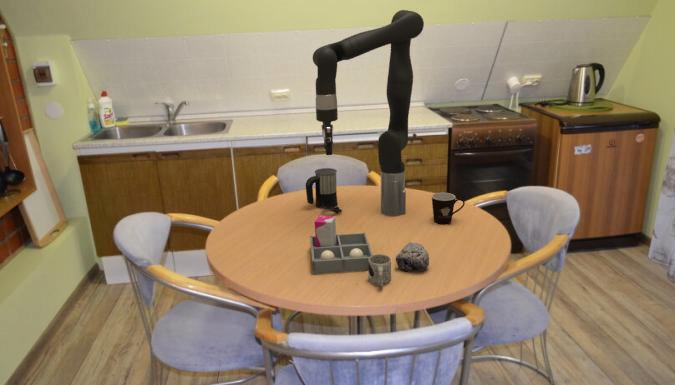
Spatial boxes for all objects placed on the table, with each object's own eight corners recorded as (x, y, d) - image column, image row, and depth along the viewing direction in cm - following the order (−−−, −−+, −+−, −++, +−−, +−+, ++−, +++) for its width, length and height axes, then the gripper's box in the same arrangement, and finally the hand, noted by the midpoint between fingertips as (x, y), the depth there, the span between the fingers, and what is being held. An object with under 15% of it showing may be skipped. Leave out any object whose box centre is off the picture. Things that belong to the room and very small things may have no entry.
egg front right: (334, 259, 165) (333, 247, 163) (335, 266, 161) (334, 253, 159) (320, 260, 164) (319, 248, 163) (321, 267, 160) (320, 254, 159)
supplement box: (337, 247, 173) (335, 215, 170) (332, 255, 168) (331, 222, 164) (320, 246, 175) (318, 214, 171) (315, 253, 169) (314, 221, 165)
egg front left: (362, 258, 165) (362, 245, 164) (364, 264, 161) (364, 251, 160) (348, 258, 165) (348, 246, 164) (350, 265, 161) (349, 252, 159)
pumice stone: (406, 283, 156) (436, 269, 157) (400, 262, 152) (430, 249, 154) (393, 267, 165) (421, 254, 167) (387, 247, 162) (415, 234, 163)
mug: (368, 274, 157) (368, 254, 155) (390, 273, 157) (390, 254, 154) (369, 291, 148) (368, 270, 145) (392, 290, 147) (392, 270, 145)
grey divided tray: (365, 244, 177) (365, 232, 175) (374, 270, 159) (373, 257, 158) (310, 247, 175) (310, 236, 174) (313, 274, 158) (312, 261, 156)
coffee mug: (428, 224, 191) (429, 199, 188) (433, 216, 199) (434, 191, 195) (460, 228, 187) (461, 202, 184) (464, 219, 195) (465, 194, 191)
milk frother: (325, 199, 220) (323, 166, 215) (355, 207, 211) (354, 172, 206) (303, 210, 209) (301, 175, 204) (334, 218, 200) (332, 181, 195)
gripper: (339, 110, 173) (340, 156, 179) (335, 102, 187) (336, 146, 192) (316, 111, 173) (318, 157, 178) (314, 103, 186) (316, 147, 192)
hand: (328, 151), depth 185 cm, fingers open, 8 cm apart
